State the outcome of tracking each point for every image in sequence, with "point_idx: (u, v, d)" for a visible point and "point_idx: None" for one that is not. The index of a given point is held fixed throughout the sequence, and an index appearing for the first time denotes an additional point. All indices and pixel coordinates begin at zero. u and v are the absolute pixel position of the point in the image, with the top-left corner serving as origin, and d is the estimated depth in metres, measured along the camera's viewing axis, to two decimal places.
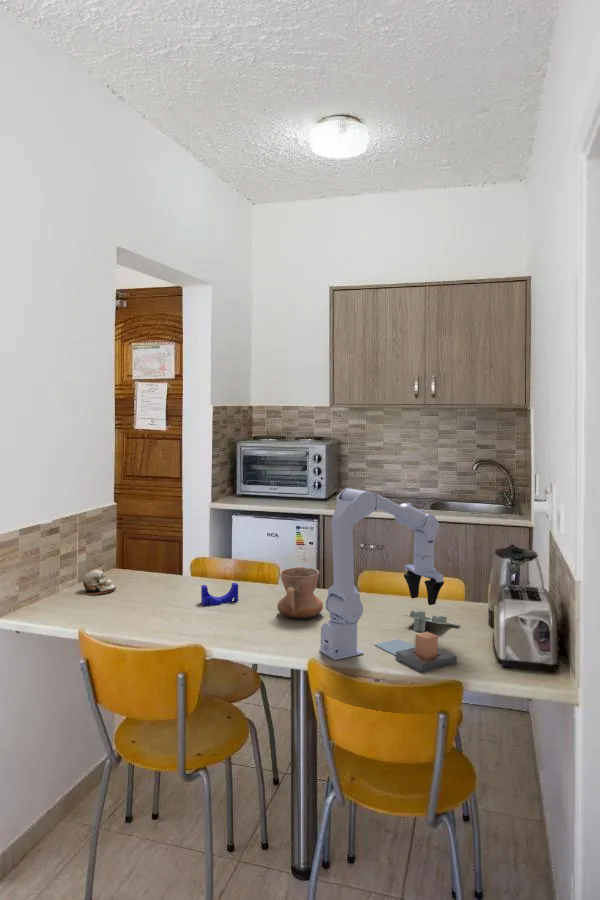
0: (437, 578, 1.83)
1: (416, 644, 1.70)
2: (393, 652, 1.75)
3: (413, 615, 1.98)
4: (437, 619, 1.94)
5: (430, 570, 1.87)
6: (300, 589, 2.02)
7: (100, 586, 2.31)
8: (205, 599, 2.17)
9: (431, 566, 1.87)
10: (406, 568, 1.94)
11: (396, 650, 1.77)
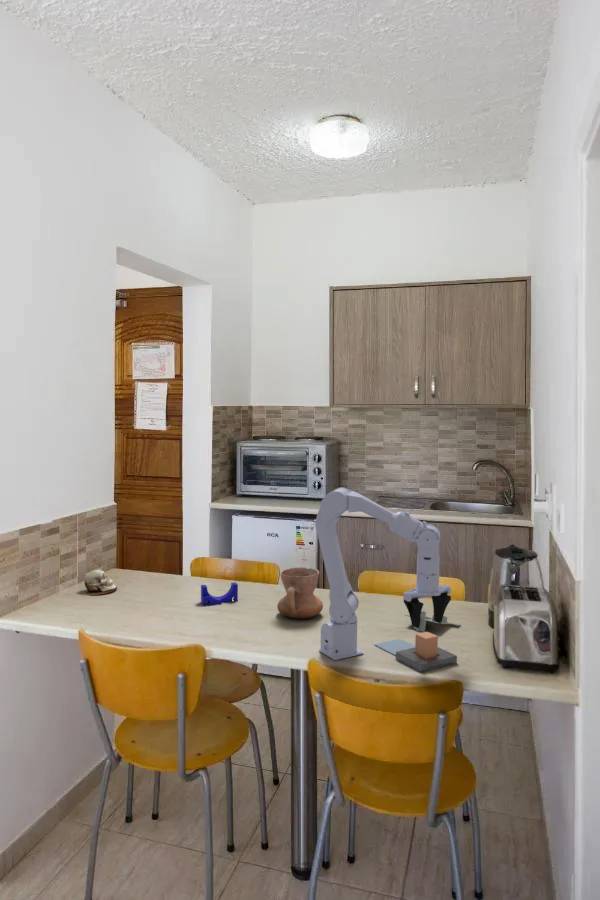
0: None
1: (416, 644, 1.70)
2: (393, 652, 1.75)
3: None
4: None
5: (419, 589, 1.68)
6: (300, 589, 2.02)
7: (101, 586, 2.31)
8: (205, 599, 2.17)
9: (420, 585, 1.67)
10: None
11: (396, 650, 1.77)
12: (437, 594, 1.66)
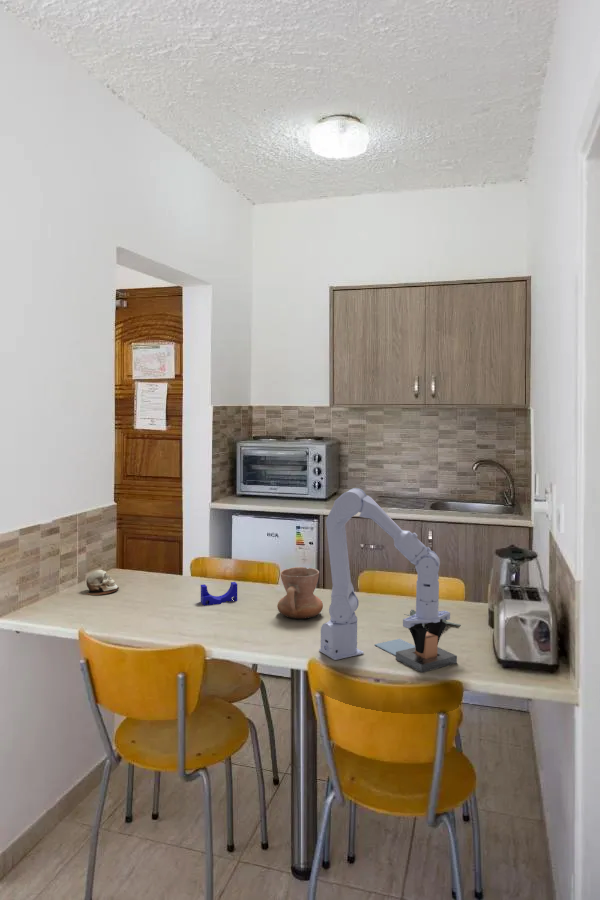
0: None
1: None
2: (393, 652, 1.75)
3: (413, 614, 1.99)
4: None
5: (418, 615, 1.68)
6: (300, 589, 2.02)
7: (103, 586, 2.31)
8: (205, 598, 2.17)
9: (420, 612, 1.68)
10: None
11: (396, 650, 1.77)
12: (436, 621, 1.66)
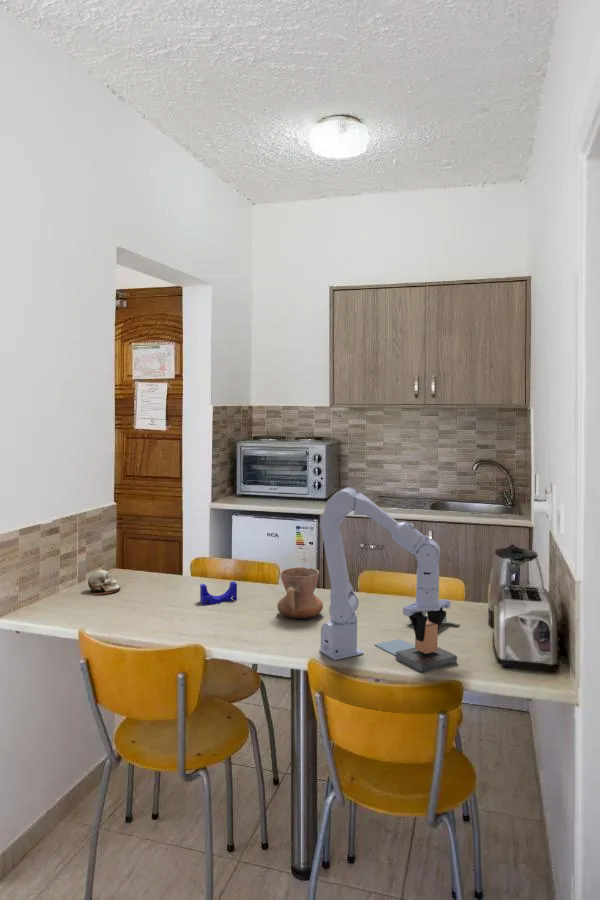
0: None
1: None
2: (393, 652, 1.75)
3: None
4: None
5: (419, 604, 1.68)
6: (300, 589, 2.02)
7: (105, 586, 2.31)
8: (204, 598, 2.18)
9: (420, 600, 1.67)
10: None
11: (396, 650, 1.77)
12: (437, 609, 1.66)
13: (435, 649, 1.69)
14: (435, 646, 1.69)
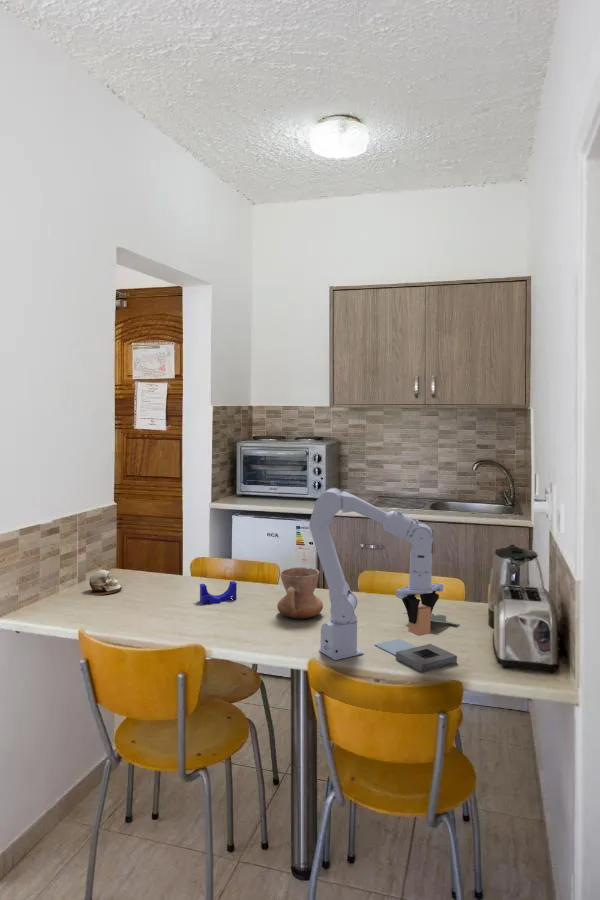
0: None
1: None
2: (393, 652, 1.75)
3: None
4: (435, 617, 1.96)
5: (412, 586, 1.70)
6: (300, 589, 2.02)
7: (106, 586, 2.31)
8: (204, 597, 2.18)
9: (413, 583, 1.70)
10: None
11: (396, 650, 1.77)
12: (429, 591, 1.68)
13: (428, 632, 1.71)
14: (428, 629, 1.71)
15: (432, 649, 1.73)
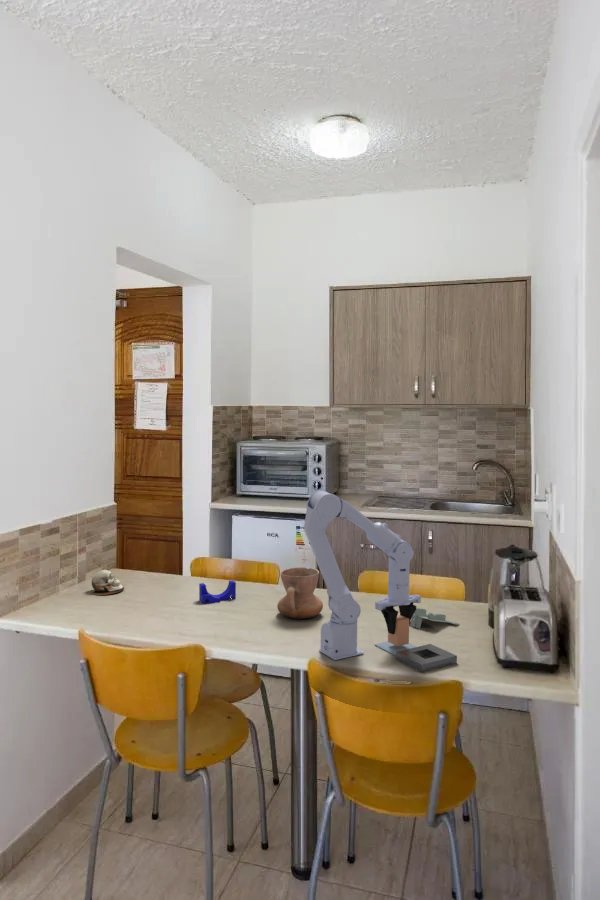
0: None
1: None
2: (393, 652, 1.75)
3: None
4: (434, 616, 1.97)
5: (390, 599, 1.78)
6: (300, 589, 2.02)
7: (108, 586, 2.31)
8: (204, 597, 2.19)
9: (391, 595, 1.77)
10: None
11: (396, 650, 1.77)
12: (407, 603, 1.76)
13: (407, 642, 1.79)
14: (407, 639, 1.79)
15: (432, 649, 1.73)
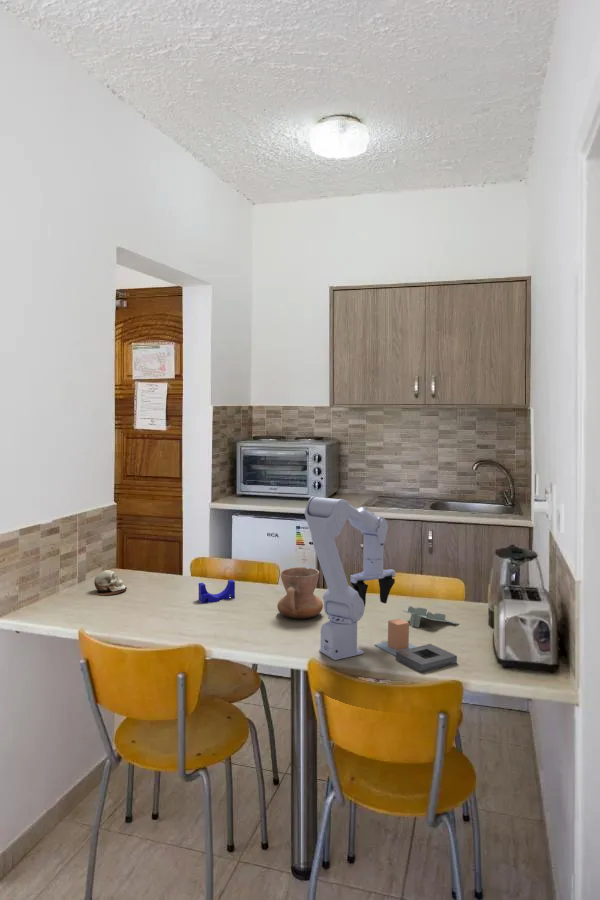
0: None
1: (389, 630, 1.80)
2: (393, 652, 1.75)
3: (411, 611, 2.02)
4: (433, 616, 1.97)
5: (365, 572, 1.86)
6: (300, 589, 2.02)
7: (111, 586, 2.31)
8: (204, 596, 2.20)
9: (366, 569, 1.86)
10: None
11: (396, 650, 1.77)
12: (380, 577, 1.84)
13: (406, 646, 1.79)
14: (406, 643, 1.79)
15: (432, 649, 1.73)
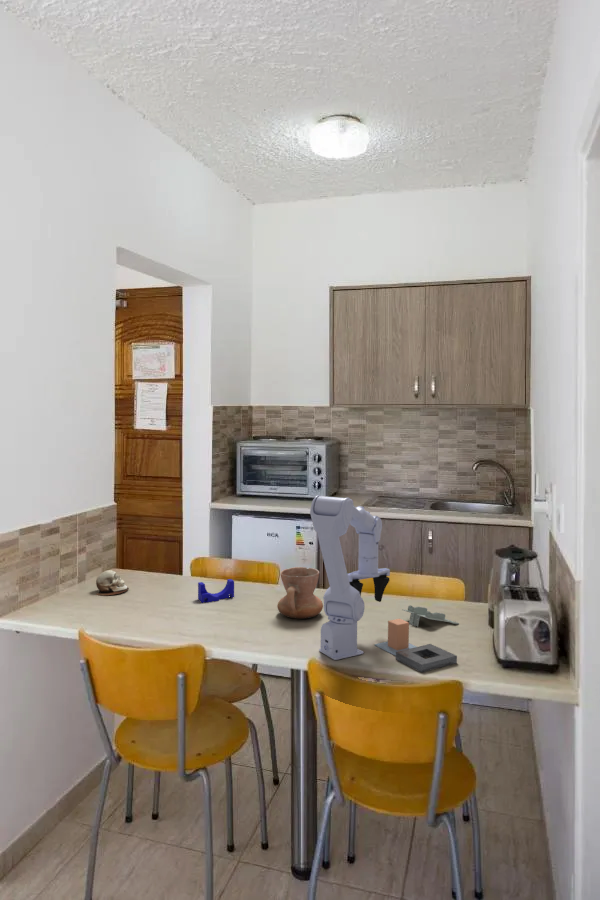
0: None
1: (389, 630, 1.80)
2: (393, 652, 1.75)
3: (411, 610, 2.03)
4: (432, 615, 1.98)
5: (360, 571, 1.88)
6: (300, 589, 2.02)
7: (113, 587, 2.31)
8: (203, 596, 2.20)
9: (361, 567, 1.87)
10: None
11: (396, 650, 1.77)
12: (375, 575, 1.86)
13: (406, 646, 1.79)
14: (406, 643, 1.79)
15: (432, 649, 1.73)
